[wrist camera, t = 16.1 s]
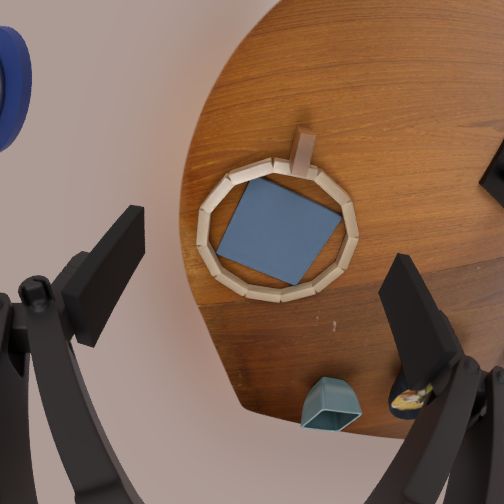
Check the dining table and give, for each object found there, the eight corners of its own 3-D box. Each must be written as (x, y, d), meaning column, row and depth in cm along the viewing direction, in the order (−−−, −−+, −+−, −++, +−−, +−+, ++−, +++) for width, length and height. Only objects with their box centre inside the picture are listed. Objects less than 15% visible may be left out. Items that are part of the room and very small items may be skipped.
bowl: (375, 390, 58) (382, 429, 50) (391, 342, 49) (403, 387, 41) (442, 378, 56) (453, 413, 47) (467, 328, 47) (486, 368, 38)
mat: (216, 251, 41) (215, 253, 41) (253, 173, 35) (252, 174, 34) (295, 283, 43) (296, 286, 43) (341, 215, 37) (342, 217, 36)
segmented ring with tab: (212, 110, 30) (205, 116, 27) (385, 148, 31) (398, 159, 28) (194, 282, 44) (188, 301, 40) (327, 303, 45) (331, 322, 41)
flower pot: (357, 376, 55) (363, 414, 47) (334, 396, 60) (338, 432, 52) (319, 368, 54) (322, 409, 46) (299, 390, 58) (299, 428, 51)
